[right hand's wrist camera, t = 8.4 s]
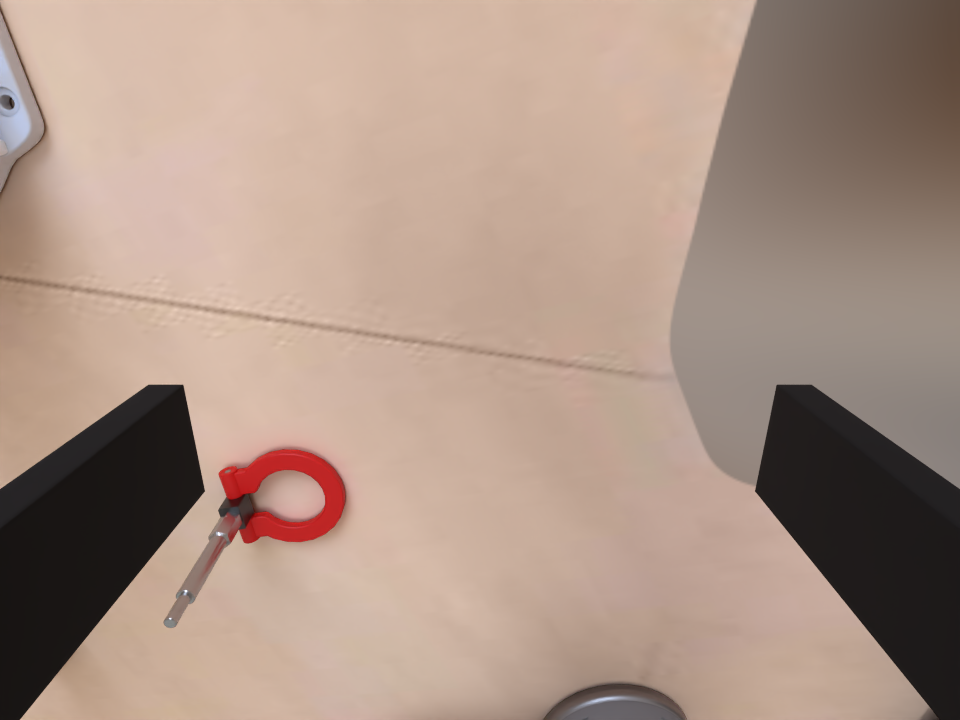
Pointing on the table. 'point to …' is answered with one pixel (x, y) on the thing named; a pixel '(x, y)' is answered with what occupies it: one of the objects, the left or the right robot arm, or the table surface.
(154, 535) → the right robot arm
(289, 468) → the tow hook
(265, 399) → the table surface
